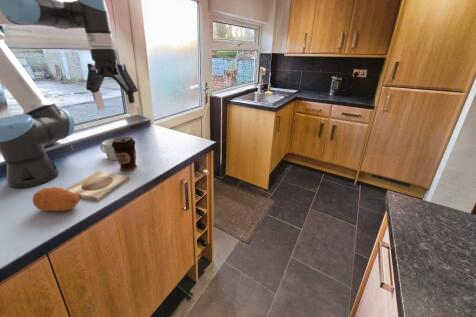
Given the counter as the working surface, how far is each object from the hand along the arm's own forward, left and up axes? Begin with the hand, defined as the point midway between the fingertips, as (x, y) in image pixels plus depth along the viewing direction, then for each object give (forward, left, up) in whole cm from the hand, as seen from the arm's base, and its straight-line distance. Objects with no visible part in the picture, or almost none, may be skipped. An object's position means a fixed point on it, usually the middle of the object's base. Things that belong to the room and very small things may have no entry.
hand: (116, 110), depth 87 cm
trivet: (-1, -15, -24) cm, 28 cm away
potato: (-2, -29, -24) cm, 38 cm away
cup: (-14, +7, -24) cm, 29 cm away
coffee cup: (0, 0, -24) cm, 24 cm away
